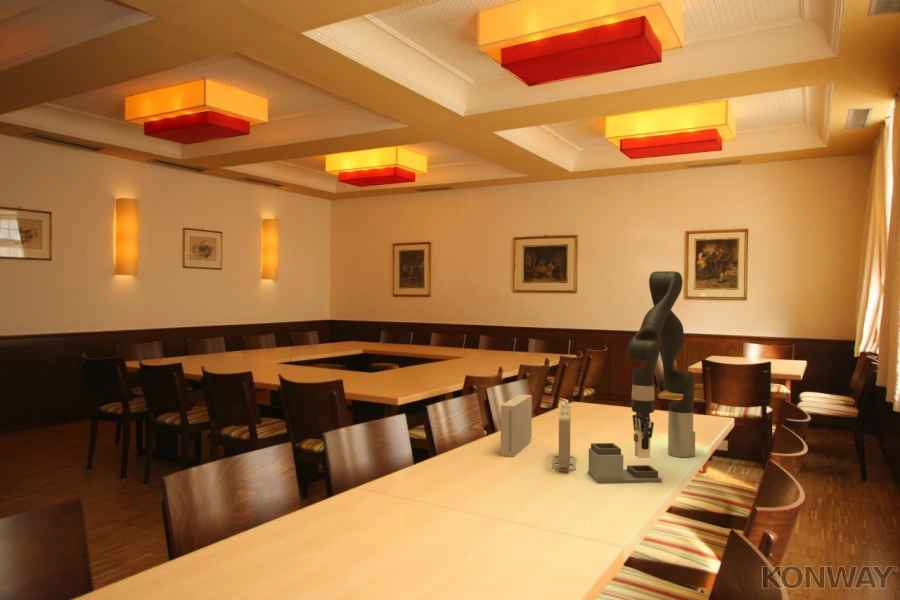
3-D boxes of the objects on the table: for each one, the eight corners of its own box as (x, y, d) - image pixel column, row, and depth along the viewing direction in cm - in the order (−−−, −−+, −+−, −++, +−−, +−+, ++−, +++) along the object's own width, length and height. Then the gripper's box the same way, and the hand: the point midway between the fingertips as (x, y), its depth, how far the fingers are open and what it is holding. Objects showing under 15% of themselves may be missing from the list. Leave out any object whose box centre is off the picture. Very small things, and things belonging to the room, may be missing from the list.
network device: (575, 474, 219) (576, 417, 218) (550, 472, 220) (551, 416, 220) (576, 455, 244) (576, 404, 243) (553, 454, 245) (553, 403, 245)
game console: (499, 456, 243) (499, 405, 243) (518, 440, 268) (518, 394, 268) (513, 457, 241) (513, 406, 240) (531, 441, 266) (531, 395, 266)
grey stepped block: (648, 471, 222) (648, 441, 222) (662, 482, 210) (662, 449, 210) (587, 472, 220) (587, 441, 220) (597, 483, 208) (598, 450, 208)
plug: (645, 454, 217) (646, 429, 217) (650, 458, 213) (650, 431, 213) (632, 455, 217) (632, 429, 217) (636, 458, 213) (636, 431, 213)
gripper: (661, 401, 208) (661, 452, 208) (645, 394, 222) (645, 442, 223) (640, 401, 208) (639, 452, 208) (625, 394, 222) (624, 442, 222)
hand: (642, 447), depth 215 cm, fingers closed on plug, 4 cm apart
